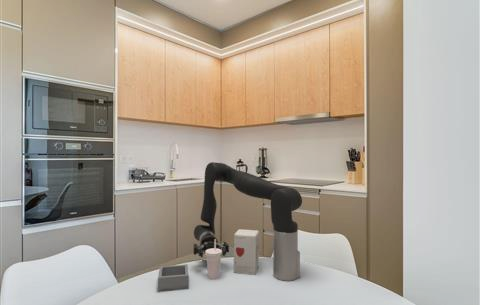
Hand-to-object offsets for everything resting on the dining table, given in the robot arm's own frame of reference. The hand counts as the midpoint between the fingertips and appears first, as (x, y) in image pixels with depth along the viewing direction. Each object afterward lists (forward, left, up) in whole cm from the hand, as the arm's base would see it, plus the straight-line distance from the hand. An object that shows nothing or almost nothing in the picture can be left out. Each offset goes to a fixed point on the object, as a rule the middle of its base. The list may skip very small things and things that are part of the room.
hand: (213, 254), depth 99 cm
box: (+15, +4, -8) cm, 17 cm away
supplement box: (-14, -3, -8) cm, 16 cm away
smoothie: (0, +1, -8) cm, 8 cm away
